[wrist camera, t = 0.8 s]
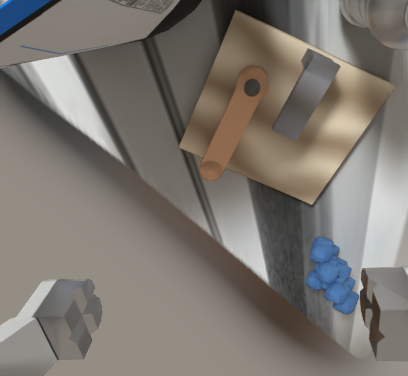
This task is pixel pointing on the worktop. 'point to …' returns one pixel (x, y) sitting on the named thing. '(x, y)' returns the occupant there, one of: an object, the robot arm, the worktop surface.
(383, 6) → the plastic bottle
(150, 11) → the protein powder
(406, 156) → the worktop surface
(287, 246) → the worktop surface
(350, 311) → the grapes
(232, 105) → the link
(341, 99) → the board
